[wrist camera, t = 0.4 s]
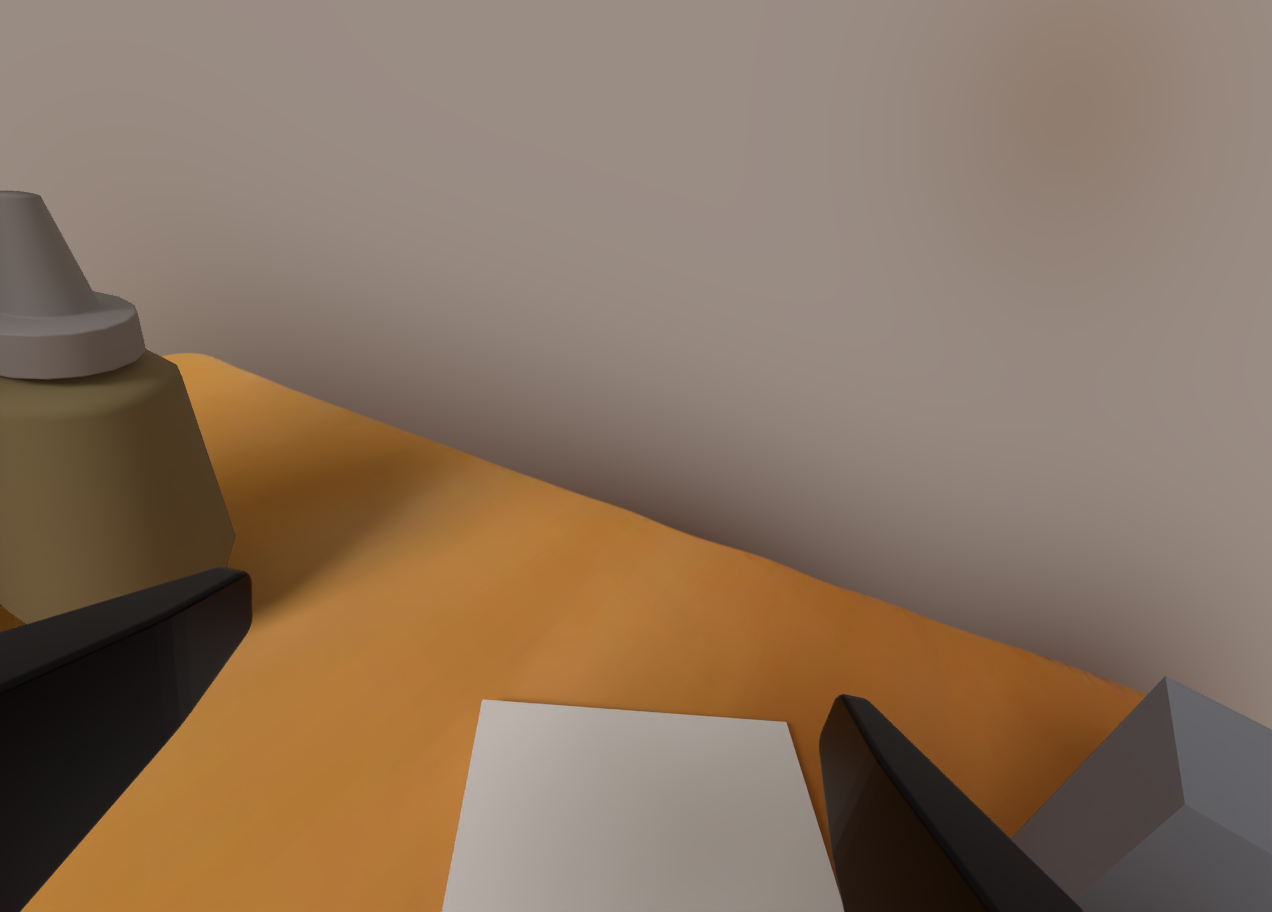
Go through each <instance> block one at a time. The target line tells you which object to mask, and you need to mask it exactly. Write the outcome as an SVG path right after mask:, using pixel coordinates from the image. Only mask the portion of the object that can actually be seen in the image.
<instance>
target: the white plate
mask: <svg viewBox="0 0 1272 912" xmlns="http://www.w3.org/2000/svg"><path fill="white" fill-rule="evenodd" d="M442 912H844V909H843V904H842V900H841V897H840V893H839V890H838V887H837V884H836V881H835V877H834V874H833V871H832V868H831V864H830V861H829V858H828V855H827V852H826V848H825V845H824V842H823V839H822V835H821V832H820V829H819V826H818V823H817V819H816V816H815V813H814V810H813V807H812V803H811V800H810V797H809V794H808V790H807V787H806V784H805V781H804V778H803V774H802V771H801V768H800V765H799V761H798V758H797V755H796V752H795V749H794V745H793V742H792V739H791V736H790V733H789V729H788V726H787V723H786V722H778V721H765V720H751V719H738V718H724V717H711V716H697V715H684V714H670V713H657V712H643V711H630V710H616V709H603V708H589V707H576V706H562V705H549V704H535V703H522V702H509V701H495V700H482V704H481V709H480V714H479V720H478V725H477V730H476V735H475V741H474V746H473V751H472V756H471V762H470V767H469V772H468V777H467V783H466V788H465V793H464V798H463V804H462V809H461V814H460V819H459V825H458V830H457V835H456V840H455V846H454V851H453V856H452V861H451V867H450V872H449V877H448V882H447V888H446V893H445V898H444V903H443V909H442Z"/></svg>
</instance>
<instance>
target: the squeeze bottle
mask: <svg viewBox="0 0 1272 912" xmlns="http://www.w3.org/2000/svg"><path fill="white" fill-rule="evenodd" d="M234 539H235V533H234V530H233V527H232V524H231V521H230V518H229V515H228V512H227V509H226V506H225V503H224V500H223V498H222V495H221V492H220V489H219V486H218V483H217V480H216V477H215V474H214V471H213V468H212V465H211V462H210V459H209V456H208V453H207V450H206V447H205V444H204V441H203V438H202V435H201V432H200V429H199V426H198V423H197V420H196V417H195V414H194V411H193V408H192V405H191V402H190V399H189V396H188V393H187V390H186V387H185V384H184V381H183V379H182V376H181V374H180V371H179V369H178V367H177V365H176V364H174V363H172V362H170V361H168V360H166V359H164V358H163V357H161V356H159V355H157V354H154V353H153V352H151V351H149V350H147V349H146V348H145V344H144V339H143V335H142V331H141V326H140V322H139V317H138V313H137V311H136V308H135V306H134V305H133V304H132V303H129V302H128V301H126V300H124V299H121V298H119V297H117V296H113V295H108V294H103V293H99V292H94V291H92V289H91V288H90V285H89V284H88V282H87V280H86V278H85V276H84V274H83V272H82V271H81V269H80V267H79V265H78V263H77V262H76V260H75V258H74V256H73V254H72V253H71V251H70V249H69V247H68V245H67V243H66V242H65V240H64V238H63V236H62V234H61V232H60V231H59V229H58V227H57V225H56V223H55V221H54V220H53V218H52V216H51V214H50V212H49V211H48V209H47V207H46V205H45V203H44V201H43V200H42V198H41V196H39V195H37V194H33V193H28V192H19V191H0V605H2V606H3V607H4V608H5V609H6V610H8V611H9V612H10V613H11V614H12V615H14V616H15V617H17V618H18V619H19V620H21V621H22V622H23V623H25V624H29V623H32V622H36V621H39V620H42V619H46V618H49V617H53V616H56V615H59V614H63V613H66V612H69V611H73V610H76V609H79V608H83V607H86V606H89V605H93V604H96V603H99V602H103V601H106V600H109V599H113V598H116V597H119V596H123V595H126V594H129V593H133V592H136V591H139V590H143V589H146V588H149V587H153V586H156V585H159V584H163V583H166V582H169V581H173V580H176V579H179V578H183V577H186V576H189V575H193V574H196V573H199V572H203V571H206V570H210V569H213V568H217V567H225V568H226V566H227V563H228V560H229V556H230V553H231V549H232V546H233V543H234Z"/></svg>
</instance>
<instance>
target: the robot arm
mask: <svg viewBox="0 0 1272 912" xmlns="http://www.w3.org/2000/svg"><path fill="white" fill-rule="evenodd" d="M251 623H252V583H251V578H250V576H249V574H248V573H246V572H244V571H240V570H235V569H230V568H225V567H217V568H213V569H210V570H206V571H203V572H199V573H196V574H193V575H189V576H186V577H183V578H179V579H176V580H173V581H169V582H166V583H163V584H159V585H156V586H153V587H149V588H146V589H143V590H139V591H136V592H133V593H129V594H126V595H123V596H119V597H116V598H113V599H109V600H106V601H103V602H99V603H96V604H93V605H89V606H86V607H83V608H79V609H76V610H73V611H69V612H66V613H63V614H59V615H56V616H53V617H49V618H46V619H42V620H39V621H36V622H32V623H29V624H26V625H22V626H19V627H16V628H12V629H9V630H6V631H2V632H0V912H20V911H21V910H22V909H23V908H24V907H25V906H26V904H27V903H28V902H29V901H30V900H31V899H32V898H33V896H34V895H35V894H36V893H37V892H38V891H39V889H40V888H41V887H42V886H43V885H44V884H45V882H46V881H47V880H48V879H49V878H50V877H51V876H52V874H53V873H54V872H55V871H56V870H57V869H58V867H59V866H60V865H61V864H62V863H63V862H64V861H65V859H66V858H67V857H68V856H69V855H70V854H71V852H72V851H73V850H74V849H75V848H76V847H77V846H78V844H79V843H80V842H81V841H82V840H83V839H84V837H85V836H86V835H87V834H88V833H89V832H90V831H91V829H92V828H93V827H94V826H95V825H96V824H97V822H98V821H99V820H100V819H101V818H102V817H103V816H104V814H105V813H106V812H107V811H108V810H109V809H110V807H111V806H112V805H113V804H114V803H115V802H116V801H117V799H118V798H119V797H120V796H121V795H122V794H123V792H124V791H125V790H126V789H127V788H128V787H129V786H130V784H131V783H132V782H133V781H134V780H135V779H136V777H137V776H138V775H139V774H140V773H141V772H142V771H143V769H144V768H145V767H146V766H147V765H148V764H149V762H150V761H151V760H152V759H153V758H154V757H155V755H156V754H157V753H158V752H159V751H160V750H161V749H162V747H163V746H164V745H165V744H166V743H167V742H168V740H169V739H170V738H171V737H172V736H173V734H174V733H175V732H176V731H177V730H178V728H179V727H180V726H181V725H182V723H183V722H184V721H185V719H186V718H187V717H188V715H189V714H190V713H191V712H192V710H193V709H194V707H195V706H196V705H197V703H198V702H199V700H200V699H201V698H202V696H203V695H204V693H205V692H206V691H207V689H208V688H209V686H210V685H211V684H212V682H213V681H214V679H215V678H216V677H217V675H218V674H219V672H220V671H221V670H222V668H223V667H224V665H225V664H226V663H227V661H228V660H229V658H230V657H231V656H232V654H233V653H234V651H235V650H236V649H237V647H238V646H239V644H240V643H241V642H242V640H243V639H244V637H245V636H246V634H247V633H248V631H249V629H250V626H251ZM819 753H820V762H821V770H822V779H823V787H824V796H825V804H826V813H827V821H828V830H829V838H830V845H831V852H832V858H833V863H834V868H835V873H836V877H837V882H838V886H839V891H840V895H841V900H842V904H843V909H844V912H1084V911H1083V909H1082V908H1081V907H1080V906H1079V905H1078V904H1077V903H1076V902H1075V901H1074V900H1073V899H1072V898H1071V897H1070V896H1069V895H1068V894H1067V893H1066V892H1065V891H1064V890H1063V889H1061V888H1060V887H1059V886H1058V885H1057V884H1056V883H1055V882H1054V881H1053V880H1052V879H1051V878H1050V877H1049V876H1048V875H1047V874H1046V873H1045V872H1044V871H1043V870H1042V869H1041V868H1040V867H1039V866H1038V865H1037V864H1036V863H1035V862H1034V861H1033V860H1032V859H1031V858H1030V857H1029V856H1028V855H1027V854H1025V853H1024V852H1023V851H1022V850H1021V849H1020V848H1019V847H1018V846H1017V845H1016V844H1015V843H1014V842H1013V841H1012V840H1011V839H1010V838H1009V837H1008V836H1007V835H1006V834H1005V833H1004V832H1003V831H1002V830H1001V829H1000V828H999V827H998V826H997V825H996V824H995V823H994V822H993V821H992V820H991V819H990V818H988V817H987V816H986V815H985V814H984V813H983V812H982V811H981V810H980V809H979V808H978V807H977V806H976V805H975V804H974V803H973V802H972V801H971V800H970V799H969V798H968V797H967V796H966V795H965V794H964V793H963V792H962V791H961V790H960V789H959V788H958V787H957V786H956V785H955V784H954V783H953V782H951V781H950V780H949V779H948V778H947V777H946V776H945V775H944V774H943V773H942V772H941V771H940V770H939V769H938V768H937V767H936V766H935V765H934V764H933V763H932V762H931V761H930V760H929V759H928V758H927V757H926V756H925V755H924V754H923V753H922V752H921V751H920V750H919V749H918V748H917V747H916V746H914V745H913V744H912V743H911V742H910V741H909V740H908V739H907V738H906V737H905V736H904V735H903V734H902V733H901V732H900V731H899V730H898V729H897V728H896V727H895V726H894V725H893V724H892V723H891V722H890V721H889V720H888V719H887V718H886V717H885V716H884V715H883V714H882V713H881V712H880V711H878V710H877V709H876V708H875V707H874V706H873V705H872V704H871V703H870V702H869V701H868V700H866V699H864V698H860V697H855V696H850V695H845V694H842V695H839V696H838V697H837V698H836V699H835V701H834V703H833V706H832V708H831V710H830V713H829V715H828V718H827V720H826V722H825V725H824V727H823V730H822V732H821V735H820V741H819Z"/></svg>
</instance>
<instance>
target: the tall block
mask: <svg viewBox="0 0 1272 912" xmlns="http://www.w3.org/2000/svg"><path fill="white" fill-rule="evenodd" d="M1011 840H1012V841H1013V842H1014V843H1015V844H1016V845H1017V846H1018V847H1019V848H1020V849H1021V850H1022V851H1023V852H1024V853H1025V854H1027V855H1028V856H1029V857H1030V858H1031V859H1032V860H1033V861H1034V862H1035V863H1036V864H1037V865H1038V866H1039V867H1040V868H1041V869H1042V870H1043V871H1044V872H1045V873H1046V874H1047V875H1048V876H1049V877H1050V878H1051V879H1052V880H1053V881H1054V882H1055V883H1056V884H1057V885H1058V886H1059V887H1060V888H1061V889H1063V890H1064V891H1065V892H1066V893H1067V894H1068V895H1069V896H1070V897H1071V898H1072V899H1073V900H1074V901H1075V902H1076V903H1077V904H1078V905H1079V906H1080V907H1081V908H1082V909H1083V911H1084V912H1272V730H1271V729H1269V728H1267V727H1265V726H1263V725H1261V724H1259V723H1257V722H1256V721H1254V720H1252V719H1250V718H1248V717H1246V716H1244V715H1242V714H1240V713H1238V712H1236V711H1234V710H1232V709H1230V708H1228V707H1226V706H1224V705H1222V704H1220V703H1218V702H1216V701H1214V700H1212V699H1210V698H1208V697H1206V696H1204V695H1202V694H1200V693H1198V692H1196V691H1194V690H1192V689H1190V688H1188V687H1186V686H1184V685H1182V684H1180V683H1178V682H1176V681H1174V680H1172V679H1170V678H1168V677H1166V676H1165V677H1164V678H1163V679H1162V680H1161V681H1160V682H1159V683H1158V684H1157V685H1156V687H1154V688H1153V690H1152V691H1151V692H1150V693H1149V694H1148V695H1147V696H1146V697H1145V698H1144V699H1143V700H1142V701H1141V702H1140V703H1139V704H1138V705H1137V706H1136V707H1135V709H1134V710H1133V711H1132V712H1131V713H1130V714H1129V715H1128V716H1127V717H1126V718H1125V719H1124V720H1123V721H1122V722H1121V723H1120V724H1119V725H1118V726H1117V728H1116V729H1115V730H1114V731H1113V732H1112V733H1111V734H1110V735H1109V736H1108V737H1107V738H1106V739H1105V740H1104V741H1103V742H1102V743H1101V744H1100V745H1099V747H1098V748H1097V749H1096V750H1095V751H1094V752H1093V753H1092V754H1091V755H1090V756H1089V757H1088V758H1087V759H1086V760H1085V761H1084V762H1083V763H1082V764H1081V766H1080V767H1079V768H1078V769H1077V770H1076V771H1075V772H1074V773H1073V774H1072V775H1071V776H1070V777H1069V778H1068V779H1067V780H1066V781H1065V782H1064V783H1063V785H1062V786H1061V787H1060V788H1059V789H1058V790H1057V791H1056V792H1055V793H1054V794H1053V795H1052V796H1051V797H1050V798H1049V799H1048V800H1047V801H1046V802H1045V804H1044V805H1043V806H1042V807H1041V808H1040V809H1039V810H1038V811H1037V812H1036V813H1035V814H1034V815H1033V816H1032V817H1031V818H1030V819H1029V820H1028V821H1027V823H1026V824H1025V825H1024V826H1023V827H1022V828H1021V829H1020V830H1019V831H1018V832H1017V833H1016V834H1015V835H1014V836H1013V837H1012V838H1011Z"/></svg>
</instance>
